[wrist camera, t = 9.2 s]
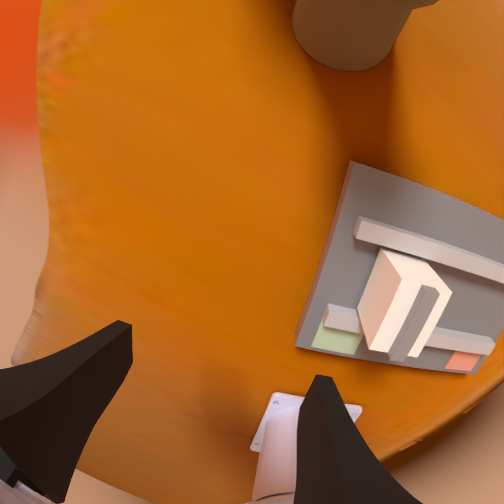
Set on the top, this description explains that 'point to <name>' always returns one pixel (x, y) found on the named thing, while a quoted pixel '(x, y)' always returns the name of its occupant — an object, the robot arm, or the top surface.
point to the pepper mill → (350, 30)
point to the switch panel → (417, 245)
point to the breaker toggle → (401, 304)
